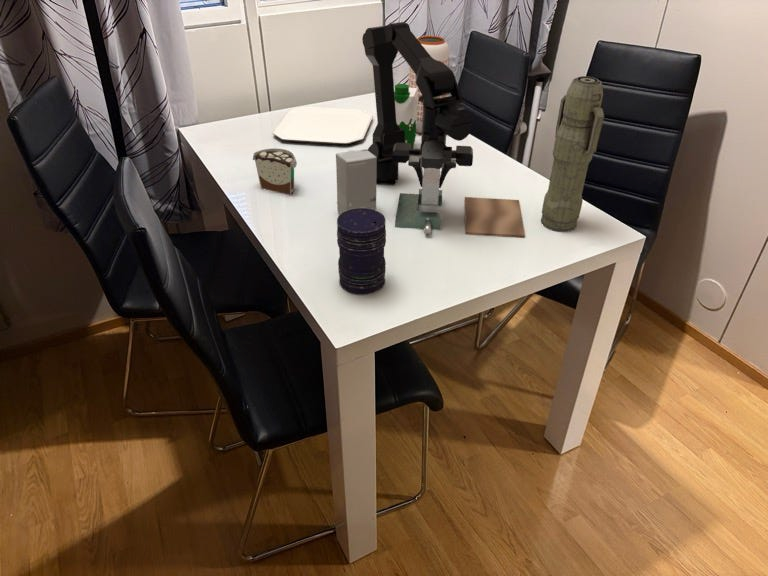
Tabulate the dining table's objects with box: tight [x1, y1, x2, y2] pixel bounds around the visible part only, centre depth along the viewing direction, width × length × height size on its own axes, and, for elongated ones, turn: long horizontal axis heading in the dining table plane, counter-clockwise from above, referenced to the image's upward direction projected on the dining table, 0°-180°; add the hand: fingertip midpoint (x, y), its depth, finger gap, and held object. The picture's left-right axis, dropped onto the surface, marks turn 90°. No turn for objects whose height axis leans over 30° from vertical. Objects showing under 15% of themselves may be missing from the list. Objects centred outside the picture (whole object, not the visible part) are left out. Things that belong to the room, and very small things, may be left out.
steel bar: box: [421, 168, 441, 206], centre depth 149 cm, size 4×8×6 cm, turn 174°
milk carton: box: [394, 83, 418, 149], centre depth 180 cm, size 9×9×20 cm
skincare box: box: [335, 148, 377, 215], centre depth 149 cm, size 8×7×16 cm
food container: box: [252, 147, 298, 197], centre depth 162 cm, size 12×6×10 cm, turn 65°
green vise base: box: [394, 188, 443, 236], centre depth 151 cm, size 11×19×3 cm, turn 174°
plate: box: [272, 106, 374, 146], centre depth 199 cm, size 29×29×2 cm
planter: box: [407, 35, 451, 135], centre depth 191 cm, size 13×13×28 cm
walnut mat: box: [464, 196, 526, 239], centre depth 152 cm, size 14×18×1 cm
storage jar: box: [336, 208, 387, 296], centre depth 125 cm, size 10×10×15 cm
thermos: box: [540, 75, 605, 233], centre depth 140 cm, size 9×12×35 cm
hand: (430, 187), depth 149 cm, fingers closed on steel bar, 4 cm apart
